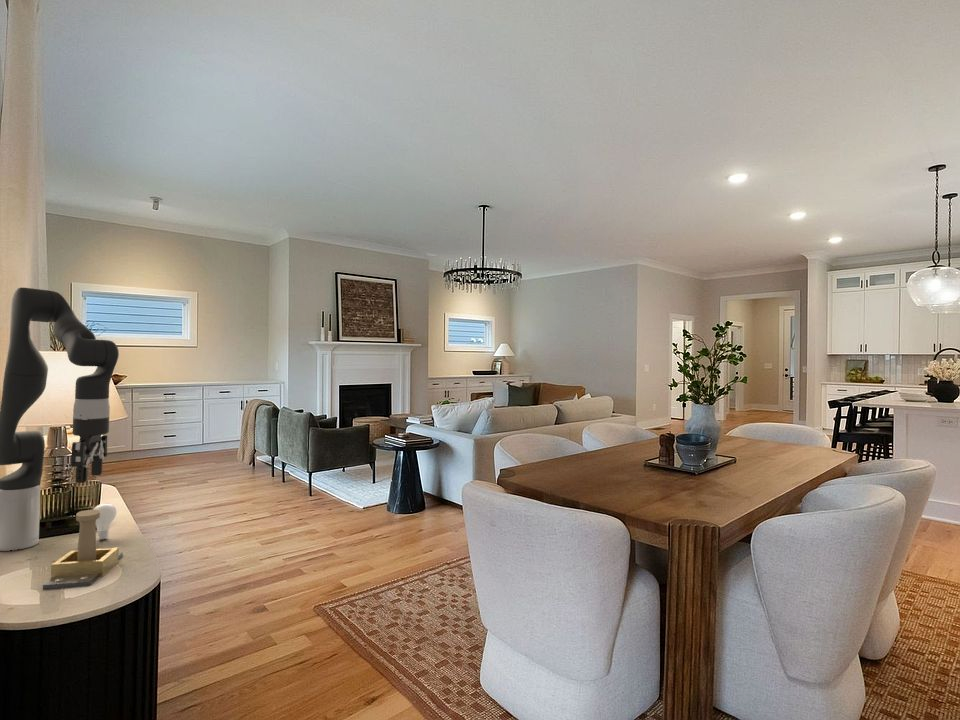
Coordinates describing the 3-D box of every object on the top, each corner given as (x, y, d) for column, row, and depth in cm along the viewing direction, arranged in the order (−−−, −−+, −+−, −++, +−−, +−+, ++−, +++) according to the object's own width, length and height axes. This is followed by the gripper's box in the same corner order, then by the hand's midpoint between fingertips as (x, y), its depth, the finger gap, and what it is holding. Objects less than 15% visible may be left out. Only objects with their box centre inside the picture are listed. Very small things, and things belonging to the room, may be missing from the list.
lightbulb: (119, 539, 156) (120, 502, 157) (95, 544, 151) (96, 507, 151) (110, 534, 160) (111, 499, 160) (86, 540, 154) (87, 504, 155)
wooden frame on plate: (39, 589, 121) (40, 572, 121) (79, 558, 140) (80, 544, 140) (93, 585, 124) (93, 568, 124) (125, 555, 143) (125, 541, 143)
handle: (73, 577, 128) (75, 517, 128) (74, 569, 133) (76, 511, 134) (97, 573, 131) (99, 514, 131) (97, 565, 136) (99, 508, 136)
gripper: (87, 413, 138) (85, 473, 138) (60, 419, 125) (57, 485, 125) (119, 413, 140) (117, 472, 140) (96, 419, 127) (93, 484, 127)
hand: (89, 478), depth 132 cm, fingers open, 8 cm apart
